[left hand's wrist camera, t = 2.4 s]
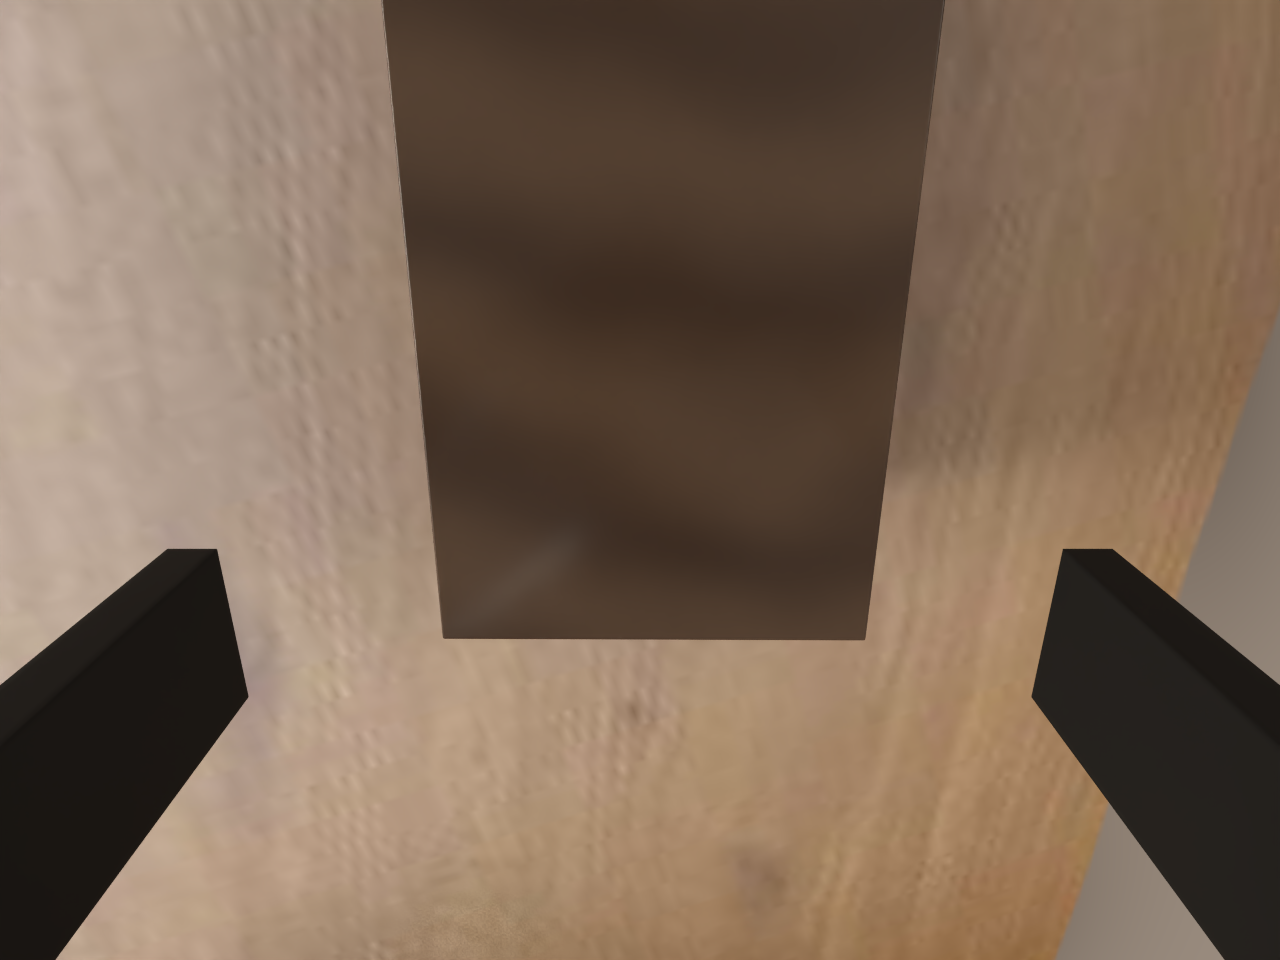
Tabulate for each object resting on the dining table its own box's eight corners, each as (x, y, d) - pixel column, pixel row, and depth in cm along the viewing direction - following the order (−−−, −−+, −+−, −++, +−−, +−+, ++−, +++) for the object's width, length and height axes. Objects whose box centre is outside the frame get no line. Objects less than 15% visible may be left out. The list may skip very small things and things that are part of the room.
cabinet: (469, -109, 22) (351, -301, 13) (841, -106, 22) (982, -296, 13) (504, 488, 29) (442, 639, 20) (793, 490, 29) (865, 640, 20)
